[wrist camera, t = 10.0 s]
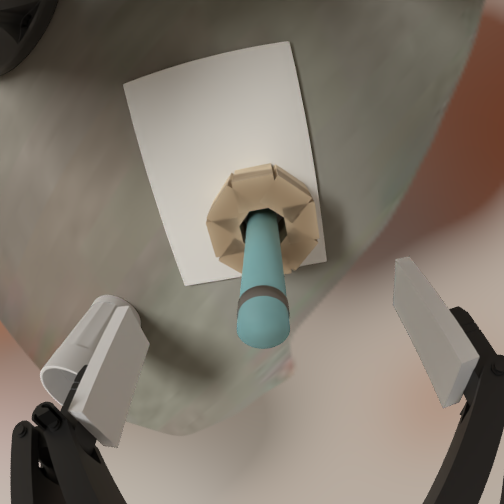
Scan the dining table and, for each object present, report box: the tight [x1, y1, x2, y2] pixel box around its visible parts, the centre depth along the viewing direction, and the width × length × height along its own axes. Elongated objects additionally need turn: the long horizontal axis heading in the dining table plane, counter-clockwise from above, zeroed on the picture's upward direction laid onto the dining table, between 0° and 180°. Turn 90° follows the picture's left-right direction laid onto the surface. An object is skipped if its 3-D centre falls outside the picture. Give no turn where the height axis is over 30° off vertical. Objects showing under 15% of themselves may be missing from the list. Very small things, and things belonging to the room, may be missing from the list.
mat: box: [123, 41, 327, 286], centre depth 26 cm, size 20×14×1 cm
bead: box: [206, 163, 320, 274], centre depth 26 cm, size 8×8×4 cm
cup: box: [40, 295, 141, 406], centre depth 29 cm, size 8×8×12 cm
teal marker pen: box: [237, 208, 290, 349], centre depth 21 cm, size 2×2×15 cm
